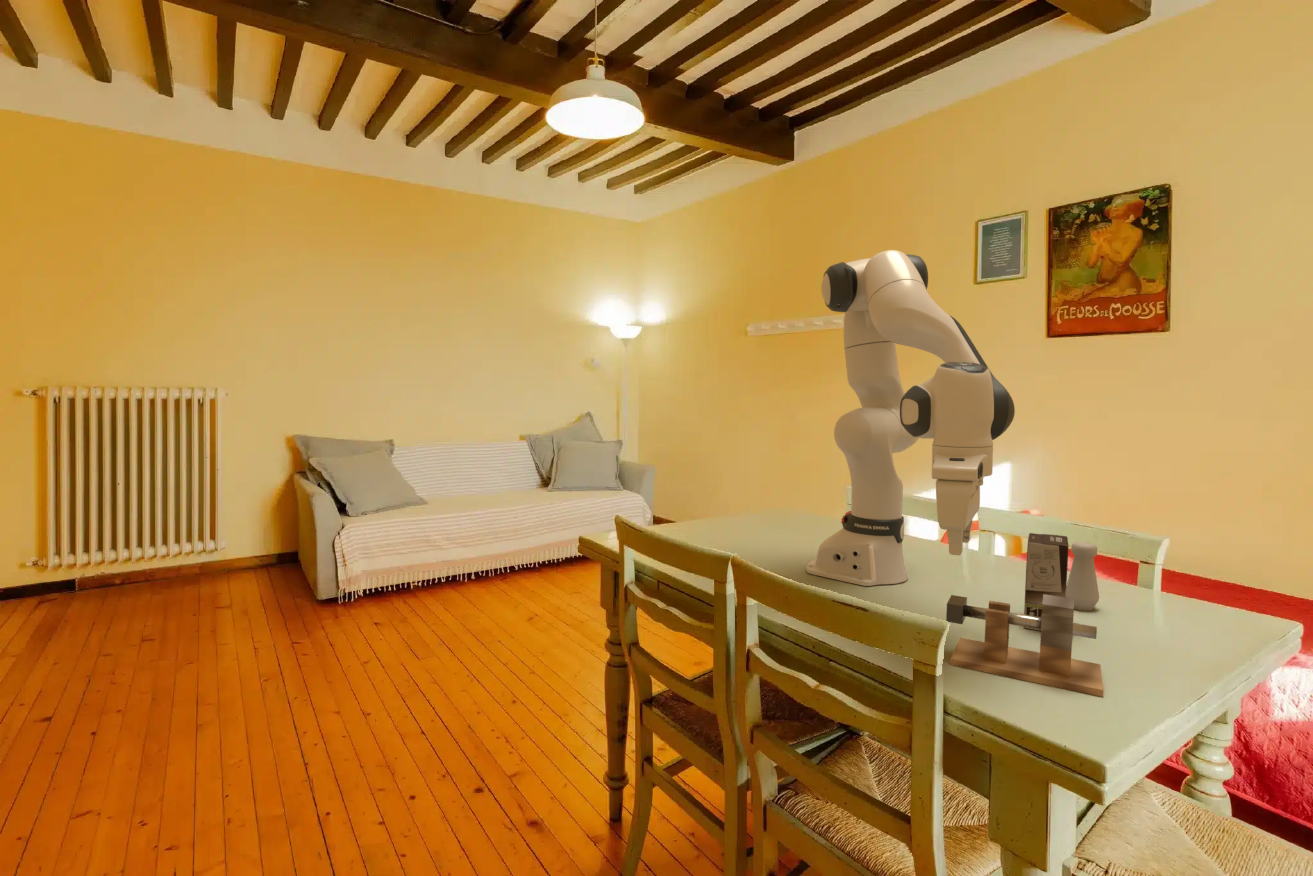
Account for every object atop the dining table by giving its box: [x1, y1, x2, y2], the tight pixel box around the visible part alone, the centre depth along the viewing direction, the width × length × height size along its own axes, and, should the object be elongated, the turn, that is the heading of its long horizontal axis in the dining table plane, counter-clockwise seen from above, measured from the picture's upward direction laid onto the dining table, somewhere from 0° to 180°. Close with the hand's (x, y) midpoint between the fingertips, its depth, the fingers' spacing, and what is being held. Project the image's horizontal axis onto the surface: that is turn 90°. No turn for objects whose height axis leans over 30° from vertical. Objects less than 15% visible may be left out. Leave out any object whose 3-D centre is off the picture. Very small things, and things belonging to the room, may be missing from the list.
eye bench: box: [950, 594, 1104, 698], centre depth 102 cm, size 20×10×11 cm, turn 58°
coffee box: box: [1023, 532, 1070, 632], centre depth 120 cm, size 9×6×16 cm
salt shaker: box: [1066, 541, 1100, 612], centre depth 128 cm, size 6×6×13 cm
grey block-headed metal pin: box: [945, 594, 1098, 640], centre depth 102 cm, size 20×5×3 cm, turn 58°
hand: (959, 547), depth 106 cm, fingers open, 8 cm apart
